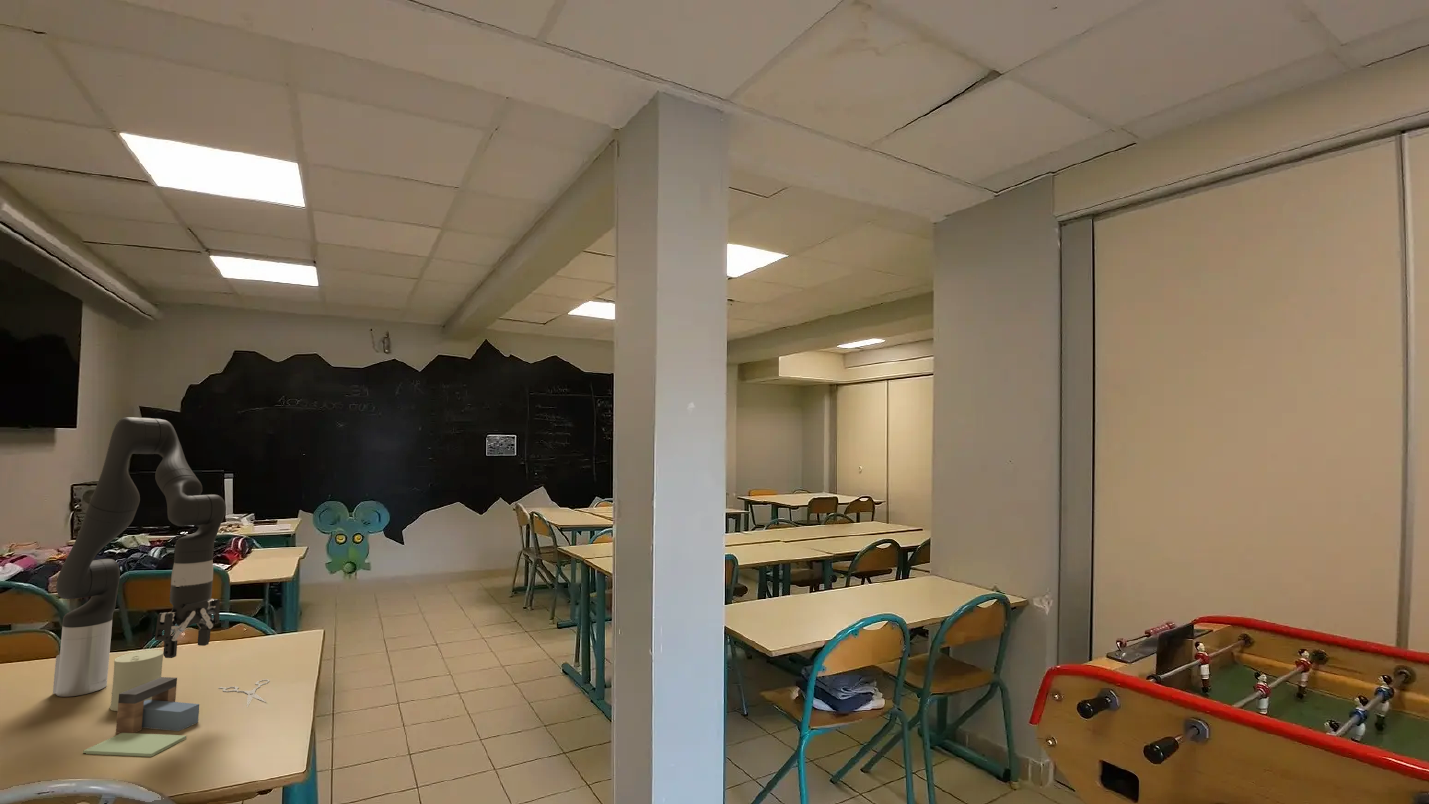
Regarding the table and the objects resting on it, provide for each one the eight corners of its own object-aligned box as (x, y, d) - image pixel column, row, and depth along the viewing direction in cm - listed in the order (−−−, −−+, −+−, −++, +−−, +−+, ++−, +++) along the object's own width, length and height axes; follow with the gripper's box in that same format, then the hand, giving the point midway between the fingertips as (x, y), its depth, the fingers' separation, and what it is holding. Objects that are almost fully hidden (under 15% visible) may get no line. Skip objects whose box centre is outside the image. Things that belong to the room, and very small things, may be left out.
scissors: (267, 677, 170) (283, 697, 156) (266, 679, 170) (282, 700, 156) (218, 687, 163) (230, 710, 149) (218, 690, 162) (230, 713, 148)
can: (102, 714, 146) (107, 662, 147) (118, 699, 154) (122, 650, 155) (153, 707, 151) (157, 656, 151) (165, 693, 159) (169, 645, 160)
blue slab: (126, 727, 140) (127, 707, 141) (146, 718, 145) (147, 699, 145) (179, 732, 139) (180, 712, 139) (198, 723, 143) (199, 704, 143)
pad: (82, 753, 128) (83, 750, 128) (121, 735, 136) (122, 732, 136) (151, 756, 127) (151, 753, 127) (186, 738, 135) (186, 735, 135)
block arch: (115, 733, 137) (118, 693, 138) (158, 713, 147) (161, 677, 148) (132, 733, 137) (135, 694, 137) (174, 714, 147) (177, 677, 147)
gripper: (203, 574, 151) (198, 641, 150) (147, 587, 137) (142, 661, 136) (232, 574, 151) (227, 642, 150) (180, 587, 137) (174, 662, 136)
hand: (187, 651), depth 143 cm, fingers open, 8 cm apart
